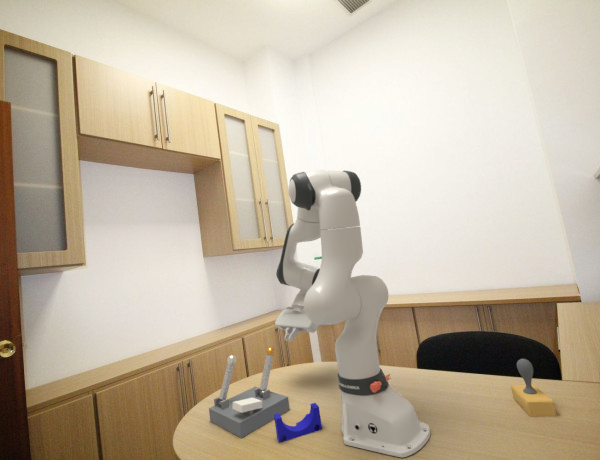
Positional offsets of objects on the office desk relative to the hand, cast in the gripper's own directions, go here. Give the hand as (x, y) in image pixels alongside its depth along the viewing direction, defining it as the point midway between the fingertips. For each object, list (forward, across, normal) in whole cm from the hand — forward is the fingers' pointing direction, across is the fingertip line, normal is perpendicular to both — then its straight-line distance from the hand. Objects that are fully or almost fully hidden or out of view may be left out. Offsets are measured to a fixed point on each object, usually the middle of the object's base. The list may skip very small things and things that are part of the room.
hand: (287, 340), depth 114 cm
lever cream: (+27, -7, -8) cm, 29 cm away
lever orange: (+19, 0, -1) cm, 19 cm away
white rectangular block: (+24, +5, -8) cm, 26 cm away
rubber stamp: (-4, +66, +29) cm, 72 cm away
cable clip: (+25, +20, +1) cm, 32 cm away
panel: (+26, 0, 0) cm, 26 cm away
